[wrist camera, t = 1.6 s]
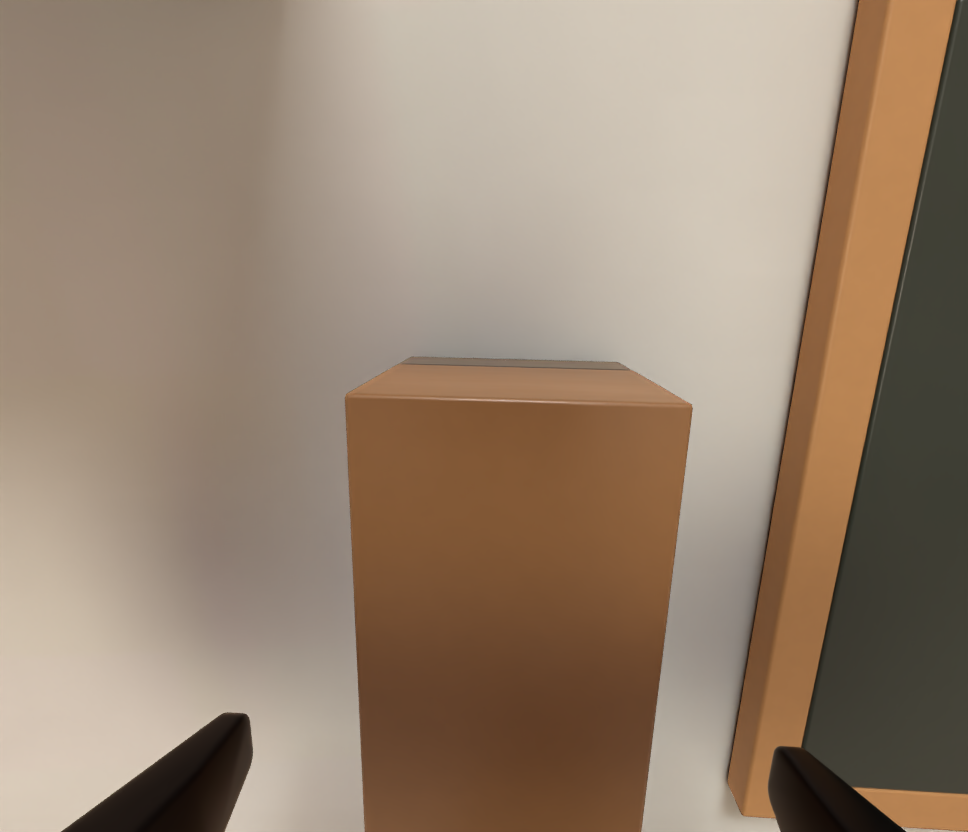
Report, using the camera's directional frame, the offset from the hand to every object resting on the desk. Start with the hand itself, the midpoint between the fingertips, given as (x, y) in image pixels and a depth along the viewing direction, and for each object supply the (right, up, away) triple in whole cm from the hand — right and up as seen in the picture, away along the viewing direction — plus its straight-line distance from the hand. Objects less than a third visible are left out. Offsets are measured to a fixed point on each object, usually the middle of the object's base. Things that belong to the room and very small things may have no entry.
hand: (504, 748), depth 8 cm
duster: (0, +1, +5) cm, 5 cm away
